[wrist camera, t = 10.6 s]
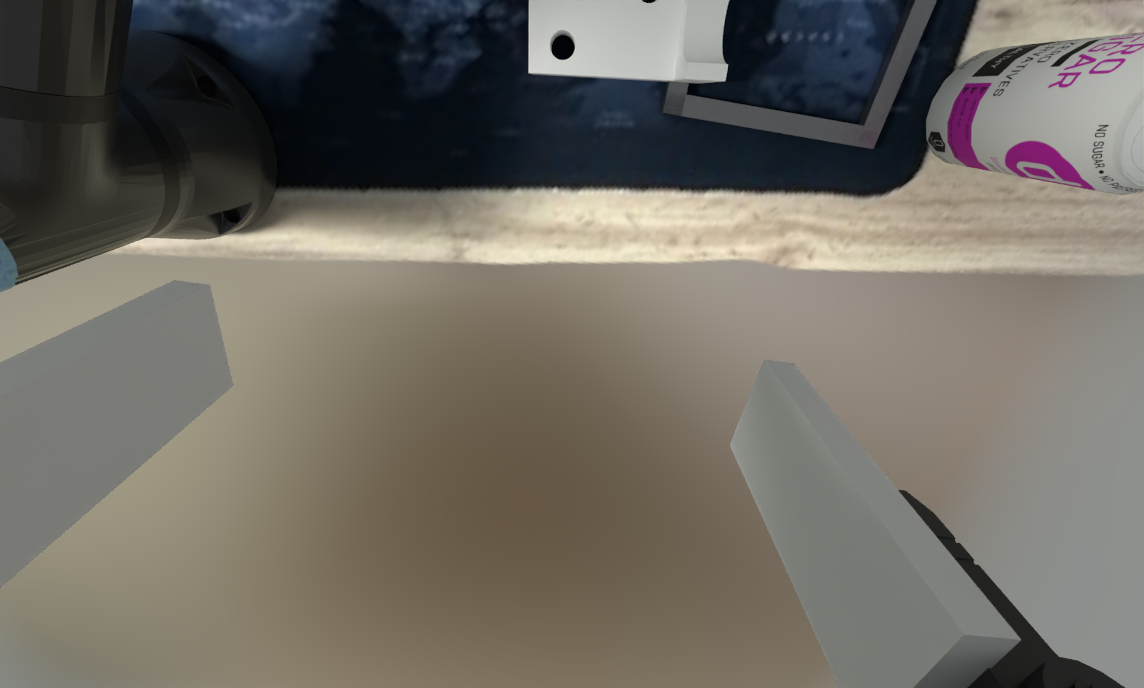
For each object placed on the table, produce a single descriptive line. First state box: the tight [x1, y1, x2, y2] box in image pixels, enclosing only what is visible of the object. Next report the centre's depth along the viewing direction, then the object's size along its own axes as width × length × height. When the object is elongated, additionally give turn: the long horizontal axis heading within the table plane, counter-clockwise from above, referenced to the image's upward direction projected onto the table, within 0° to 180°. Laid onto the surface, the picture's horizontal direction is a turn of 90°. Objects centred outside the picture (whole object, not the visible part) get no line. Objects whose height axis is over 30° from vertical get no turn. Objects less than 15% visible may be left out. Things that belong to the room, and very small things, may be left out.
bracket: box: [529, 0, 729, 83], centre depth 31 cm, size 13×7×8 cm, turn 87°
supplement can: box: [926, 33, 1144, 195], centre depth 31 cm, size 8×8×15 cm
